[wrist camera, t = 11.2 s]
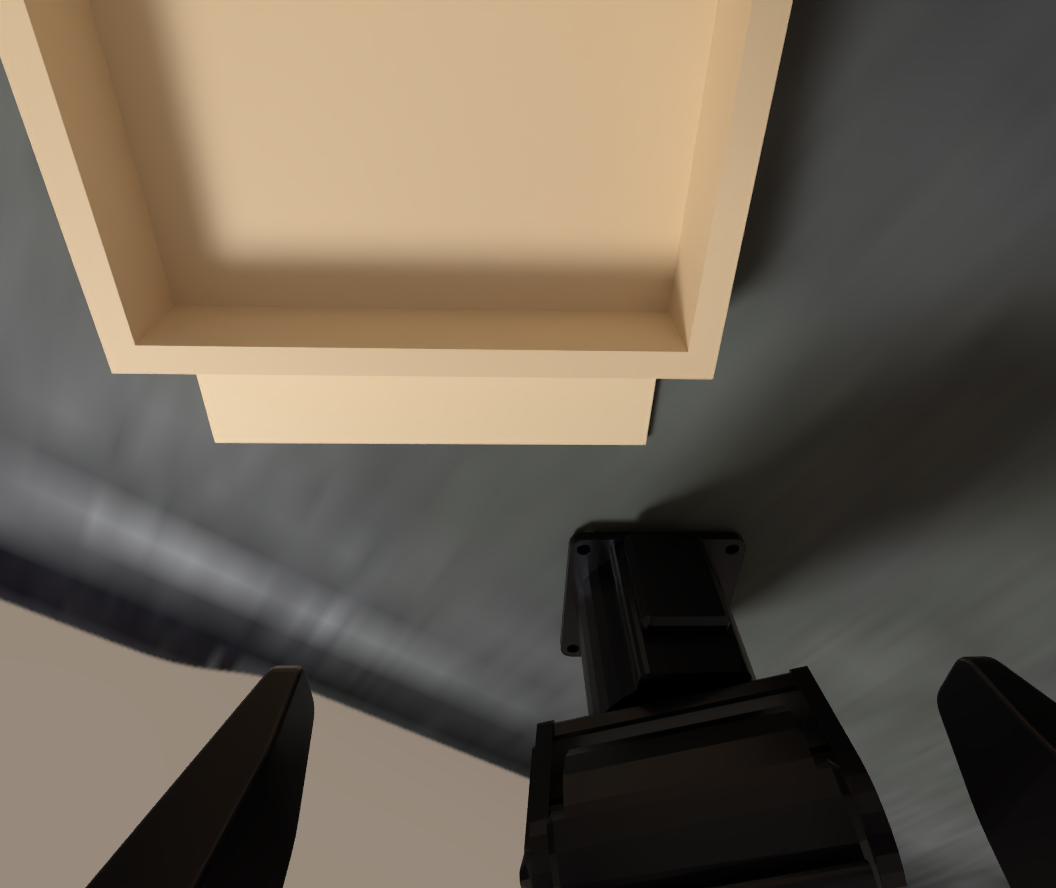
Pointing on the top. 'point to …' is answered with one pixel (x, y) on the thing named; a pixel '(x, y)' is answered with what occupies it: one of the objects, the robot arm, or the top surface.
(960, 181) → the top surface
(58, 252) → the top surface
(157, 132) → the tray
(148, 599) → the top surface
